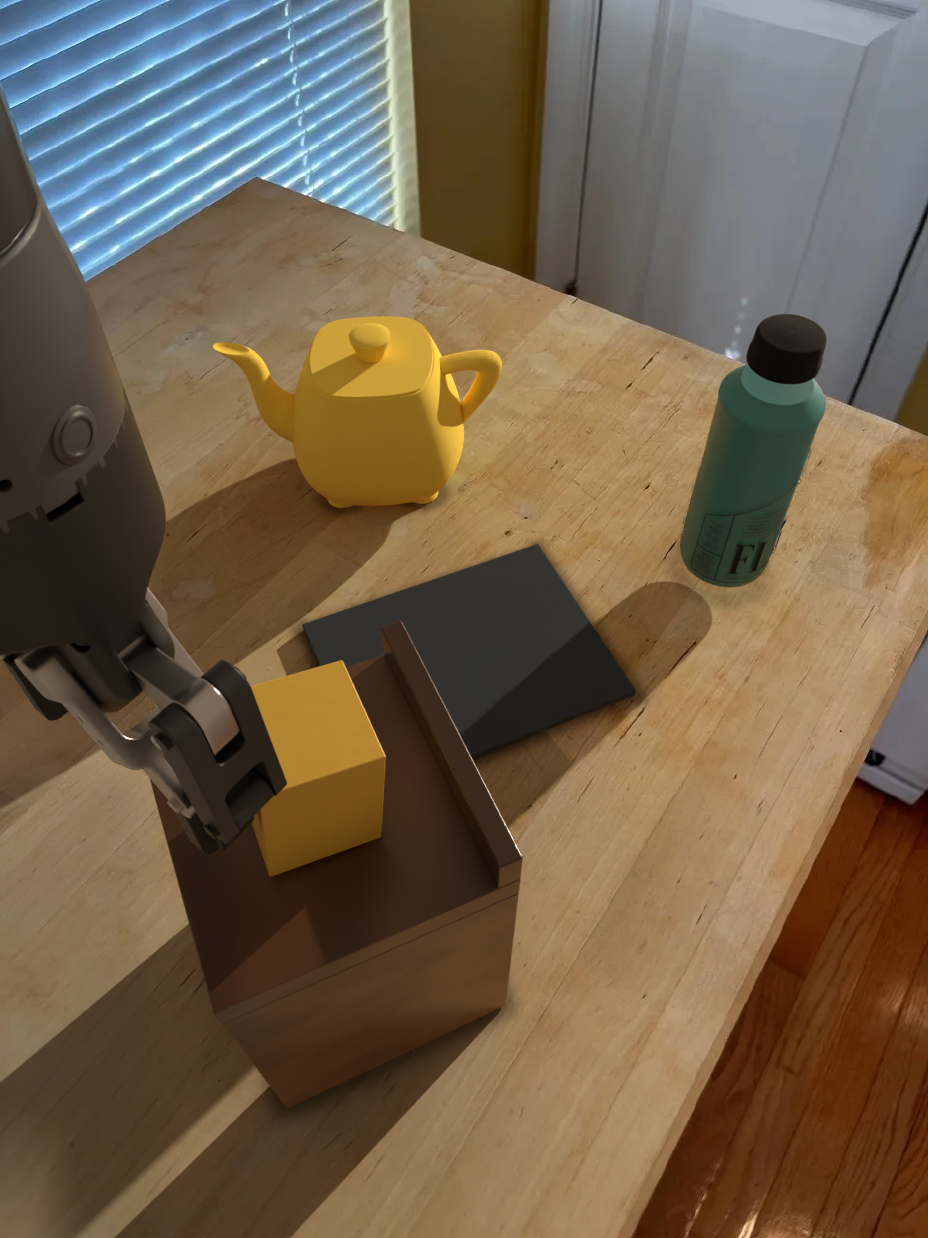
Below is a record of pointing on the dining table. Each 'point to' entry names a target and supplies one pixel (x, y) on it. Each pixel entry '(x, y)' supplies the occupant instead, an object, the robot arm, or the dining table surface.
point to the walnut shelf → (363, 906)
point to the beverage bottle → (755, 453)
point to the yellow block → (319, 768)
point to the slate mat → (490, 647)
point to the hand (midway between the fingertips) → (143, 763)
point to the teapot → (372, 409)
